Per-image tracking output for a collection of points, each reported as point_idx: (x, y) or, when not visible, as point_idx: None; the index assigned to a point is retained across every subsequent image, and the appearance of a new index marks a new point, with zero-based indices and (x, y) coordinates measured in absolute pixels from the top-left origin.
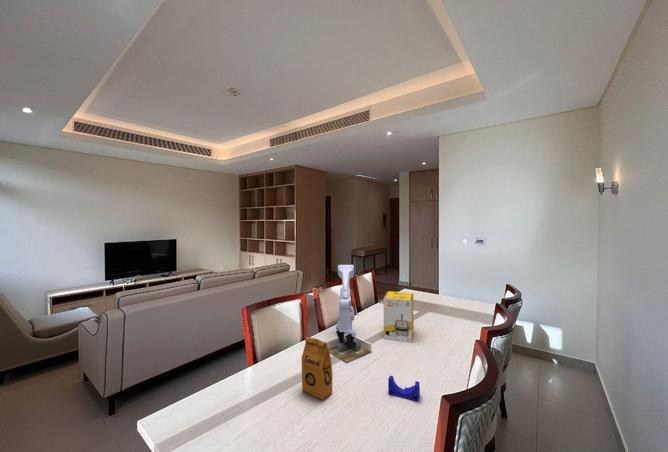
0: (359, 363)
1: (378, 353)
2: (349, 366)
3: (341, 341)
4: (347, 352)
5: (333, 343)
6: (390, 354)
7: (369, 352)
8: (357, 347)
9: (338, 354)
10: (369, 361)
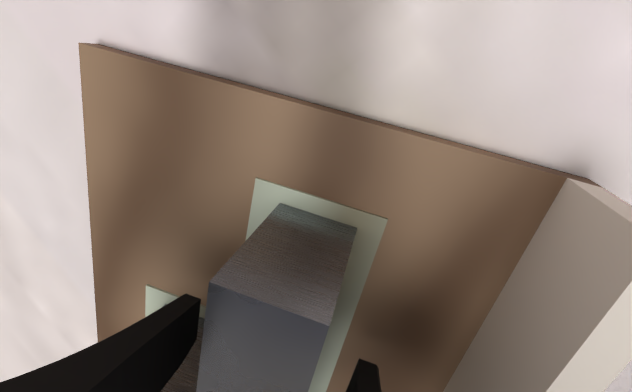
0: (29, 139)
1: None
2: (34, 6)
3: (273, 370)
4: None
5: (505, 350)
6: None
7: None
8: None
9: (288, 153)
10: (13, 223)
